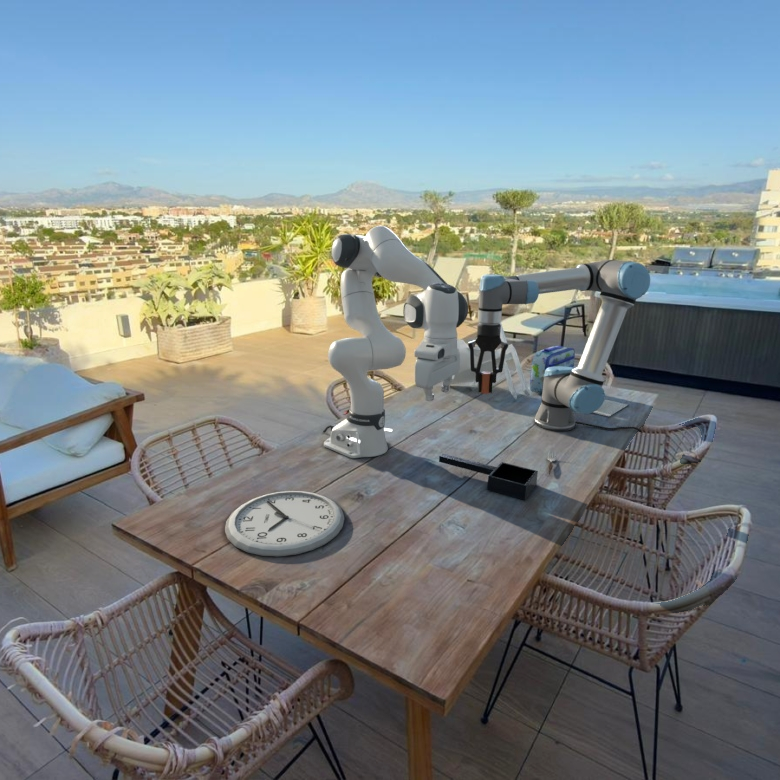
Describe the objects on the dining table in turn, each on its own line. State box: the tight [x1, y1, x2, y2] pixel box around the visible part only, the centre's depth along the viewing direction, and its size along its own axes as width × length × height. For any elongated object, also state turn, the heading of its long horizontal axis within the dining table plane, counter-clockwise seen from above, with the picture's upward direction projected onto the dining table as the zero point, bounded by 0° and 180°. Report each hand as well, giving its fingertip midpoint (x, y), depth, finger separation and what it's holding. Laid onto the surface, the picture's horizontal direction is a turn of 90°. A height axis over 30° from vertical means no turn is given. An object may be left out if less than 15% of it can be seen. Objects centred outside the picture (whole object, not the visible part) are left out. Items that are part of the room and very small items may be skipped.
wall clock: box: [224, 490, 345, 557], centre depth 134 cm, size 30×2×30 cm
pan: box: [438, 453, 539, 501], centre depth 158 cm, size 29×11×5 cm, turn 58°
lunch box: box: [529, 345, 576, 394], centre depth 244 cm, size 26×11×21 cm, turn 135°
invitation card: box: [591, 398, 629, 418], centre depth 226 cm, size 21×1×15 cm
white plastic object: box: [442, 322, 531, 400], centre depth 245 cm, size 37×45×31 cm
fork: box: [547, 449, 557, 475], centre depth 169 cm, size 3×16×2 cm, turn 160°
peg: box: [480, 372, 491, 395], centre depth 177 cm, size 3×3×7 cm
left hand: (437, 396), depth 143 cm, fingers open, 8 cm apart
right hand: (484, 391), depth 178 cm, fingers closed on peg, 3 cm apart
